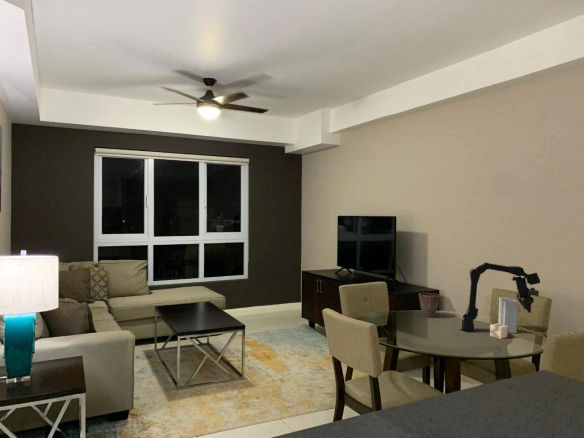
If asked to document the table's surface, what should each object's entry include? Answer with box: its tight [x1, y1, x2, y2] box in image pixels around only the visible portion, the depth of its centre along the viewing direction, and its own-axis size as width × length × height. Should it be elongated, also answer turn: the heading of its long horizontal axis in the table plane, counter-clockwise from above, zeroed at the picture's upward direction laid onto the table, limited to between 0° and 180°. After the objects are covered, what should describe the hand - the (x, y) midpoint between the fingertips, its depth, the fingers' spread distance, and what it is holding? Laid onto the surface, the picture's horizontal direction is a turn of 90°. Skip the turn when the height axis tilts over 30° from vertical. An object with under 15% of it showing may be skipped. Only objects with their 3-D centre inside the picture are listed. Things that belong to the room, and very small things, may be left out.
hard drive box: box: [497, 296, 519, 334], centre depth 291 cm, size 16×8×20 cm, turn 168°
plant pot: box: [418, 292, 441, 319], centre depth 323 cm, size 15×15×16 cm
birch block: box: [489, 322, 508, 340], centre depth 275 cm, size 7×7×7 cm
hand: (527, 311), depth 277 cm, fingers open, 9 cm apart
